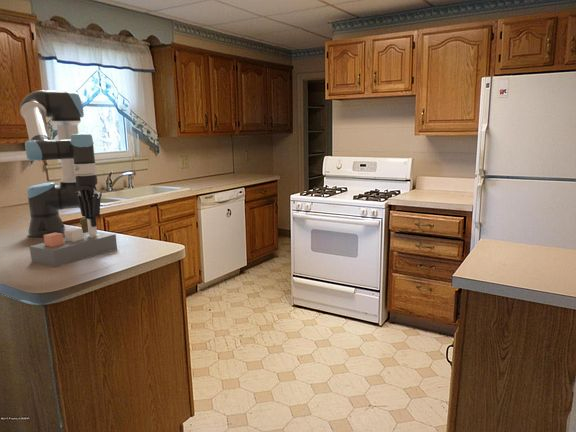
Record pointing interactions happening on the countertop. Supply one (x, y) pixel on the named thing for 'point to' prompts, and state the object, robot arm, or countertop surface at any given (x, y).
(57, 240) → the terracotta button
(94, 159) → the robot arm
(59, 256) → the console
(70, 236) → the cream white cube
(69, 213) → the countertop surface
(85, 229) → the cork
